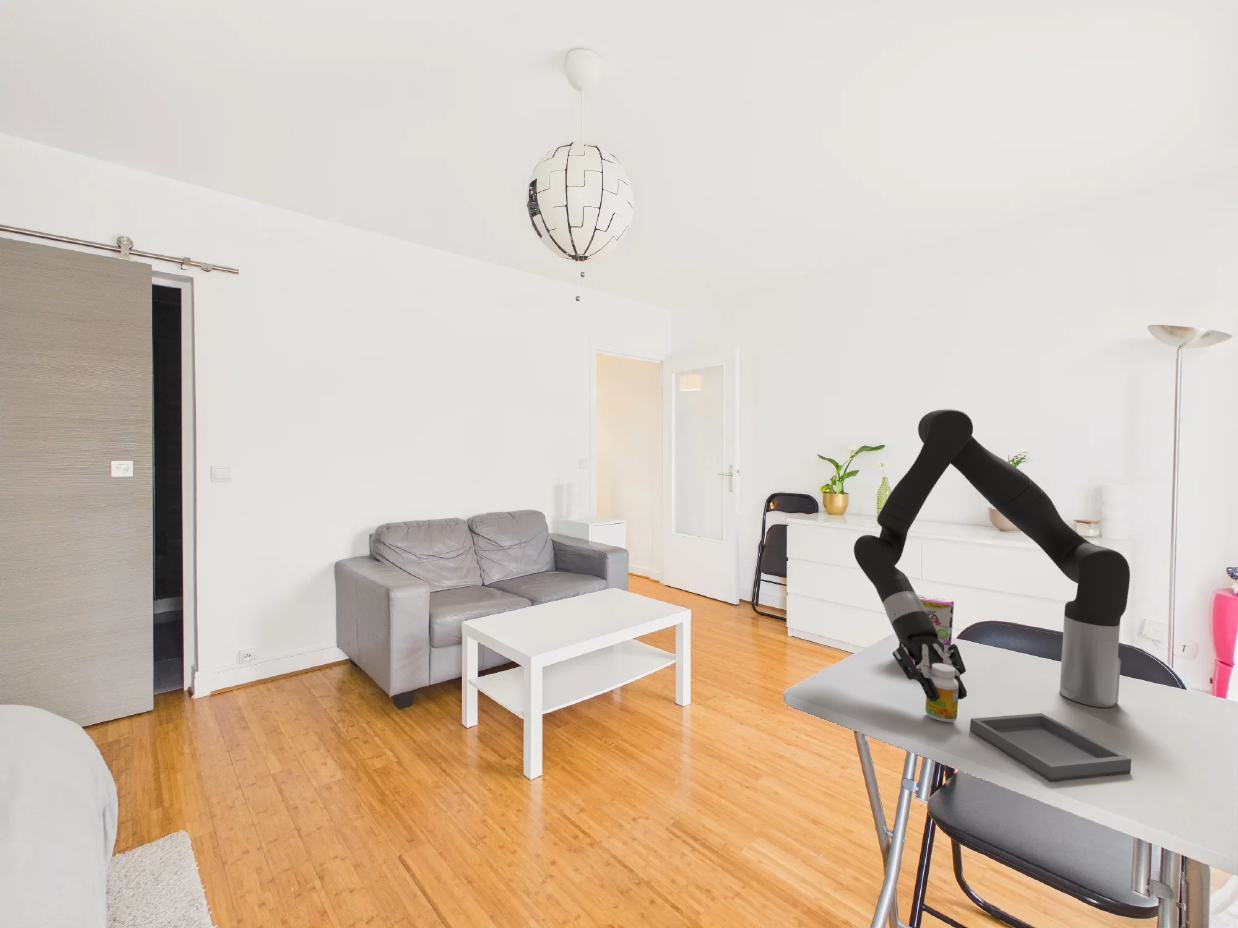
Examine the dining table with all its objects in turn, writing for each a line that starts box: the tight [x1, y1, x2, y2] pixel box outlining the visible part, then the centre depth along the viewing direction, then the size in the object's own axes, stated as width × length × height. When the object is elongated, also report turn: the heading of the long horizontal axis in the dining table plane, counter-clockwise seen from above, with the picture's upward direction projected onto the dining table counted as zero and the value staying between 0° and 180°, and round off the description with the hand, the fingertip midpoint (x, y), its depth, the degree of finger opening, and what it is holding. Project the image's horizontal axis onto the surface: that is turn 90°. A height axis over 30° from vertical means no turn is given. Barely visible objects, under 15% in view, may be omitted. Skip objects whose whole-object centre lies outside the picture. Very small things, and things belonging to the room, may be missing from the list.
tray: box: [969, 712, 1132, 783], centre depth 100 cm, size 16×16×2 cm
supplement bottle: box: [925, 663, 959, 723], centre depth 111 cm, size 5×5×10 cm
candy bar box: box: [898, 594, 955, 669], centre depth 139 cm, size 11×5×16 cm, turn 58°
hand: (949, 698), depth 109 cm, fingers closed on supplement bottle, 5 cm apart
